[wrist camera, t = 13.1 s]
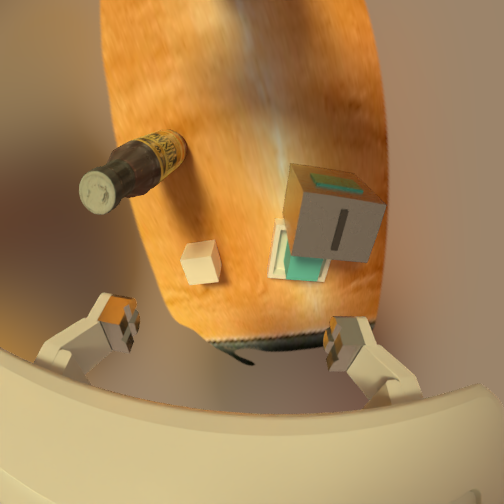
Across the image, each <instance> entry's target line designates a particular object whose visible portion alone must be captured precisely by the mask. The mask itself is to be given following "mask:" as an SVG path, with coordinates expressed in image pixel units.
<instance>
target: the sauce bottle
mask: <svg viewBox="0 0 504 504" xmlns="http://www.w3.org/2000/svg"><path fill="white" fill-rule="evenodd" d="M186 153H187V147H186V143H185V140H184V139H183V137H182V136H181V135H180V134H178V133H177V132H174V131H173V130H159V131H156V132H154V133H151V134H148V135H145V136H142V137H140V138H137V139H134V140H131V141H129V142H127V143H125V144H124V145H122V146H120V147H118V148H116V149H115V150H113V151H112V153H111V155H110V157H109V160H108V162H107V164H106V165H104V166H102V167H96V168H94V169H92V170H91V171H89V172H88V173H86V174H85V175H84V176H83V177H82V179H81V182H80V185H79V194H80V198H81V201H82V203H83V204H84V205H85V207H86V208H87V209H88V210H89V211H90V212H92V213H94V214H100V215H101V214H106V213H109V212H110V211H111V210H113V209H114V208H115V207H116V206H117V205H118V204H119V203H120V201H121V199H122V198H124V197H127V198H130V197H135V196H140V195H144V194H146V193H147V192H148V191H149V190H150V189H152V188H154V187H155V186H156V185H157V184H159V183H160V182H161V181H162V180H163V179H164V178H166V177H167V176H168V175H169V174H170V173H172V172H173V171H174V170H175V169H176V168H178V167H179V166H180V165H181V163H182V162H183V160H184V158H185V156H186Z"/></svg>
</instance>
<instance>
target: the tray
mask: <svg viewBox="0 0 504 504" xmlns="http://www.w3.org/2000/svg"><path fill="white" fill-rule="evenodd" d="M287 240H288V238H287V233H286V228H285V223H284V219H281V218H275V223H274V229H273V236H272V242H271V248H270V255H269V261H268V267H267V278H278V279H286V275H285V268H284V256H285V250H286V245H287ZM330 262H331V259H323V263H322V266H321V270H320V273H319V276H318V280H317V281H318V282H324V281H325V278H326V275H327V271H328V268H329V265H330Z"/></svg>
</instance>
